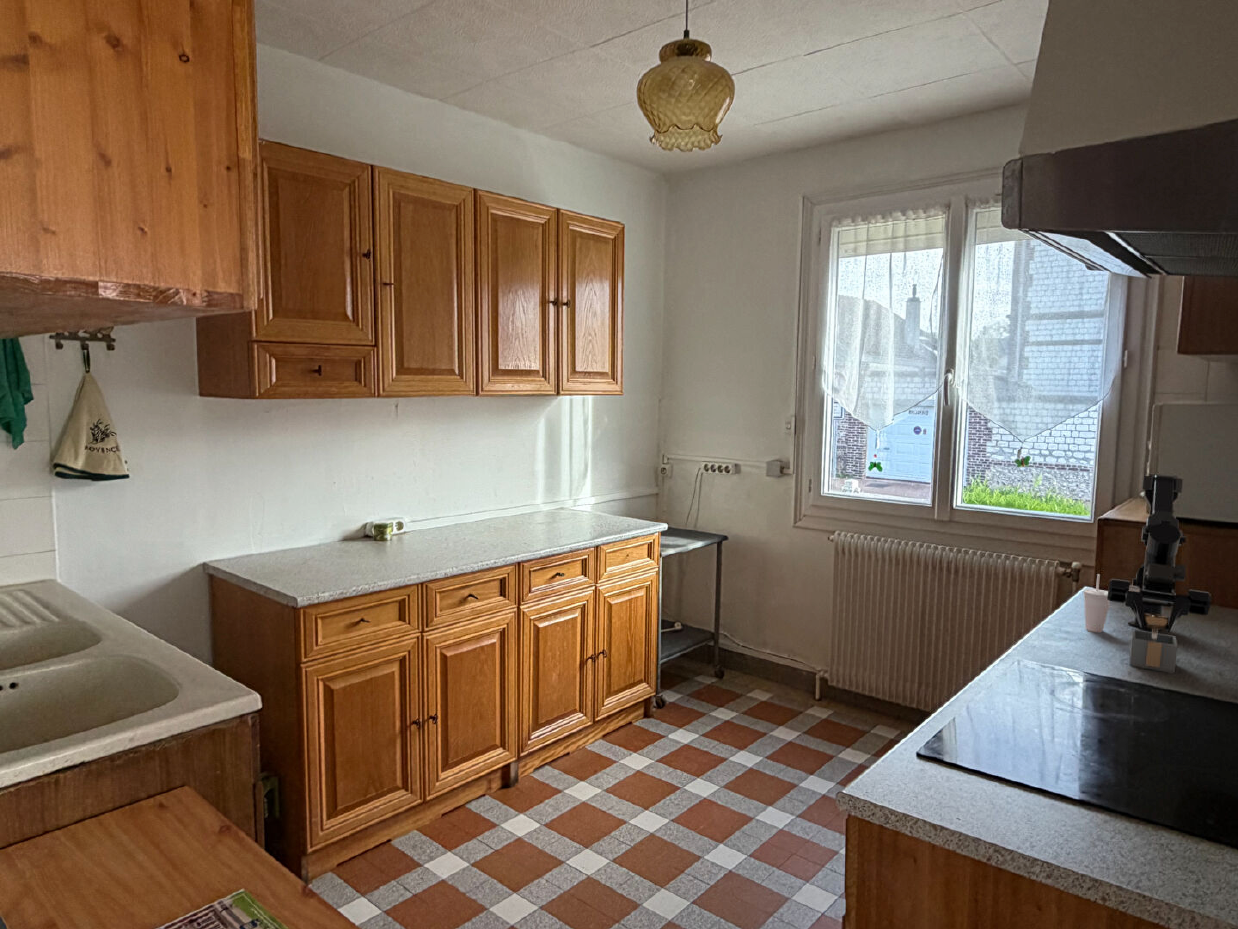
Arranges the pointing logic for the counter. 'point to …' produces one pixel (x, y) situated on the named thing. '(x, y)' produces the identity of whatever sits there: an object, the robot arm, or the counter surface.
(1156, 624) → the plunger
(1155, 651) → the grey open box
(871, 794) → the counter surface
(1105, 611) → the smoothie
